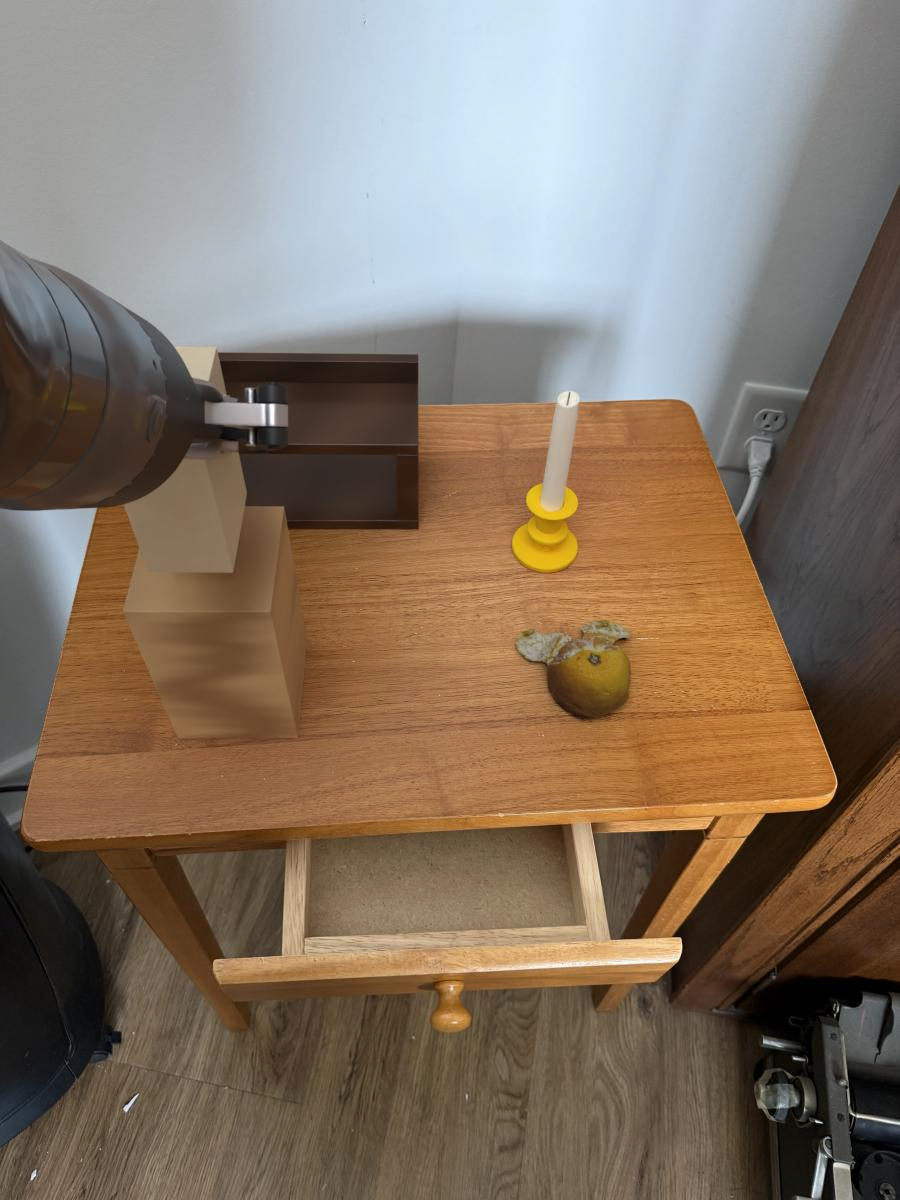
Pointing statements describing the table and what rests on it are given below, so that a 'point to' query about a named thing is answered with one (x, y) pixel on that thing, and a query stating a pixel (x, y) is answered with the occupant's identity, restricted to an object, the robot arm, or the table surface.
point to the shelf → (336, 438)
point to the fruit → (582, 667)
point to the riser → (226, 637)
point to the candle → (552, 500)
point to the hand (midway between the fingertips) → (184, 430)
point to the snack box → (193, 501)
